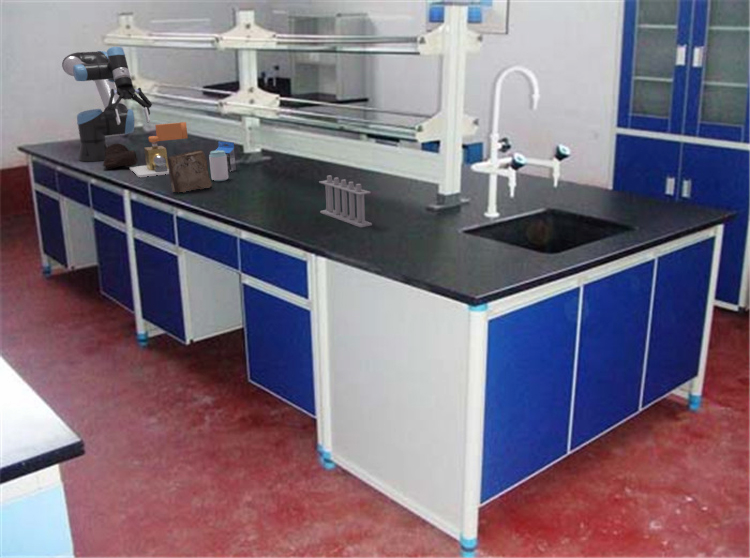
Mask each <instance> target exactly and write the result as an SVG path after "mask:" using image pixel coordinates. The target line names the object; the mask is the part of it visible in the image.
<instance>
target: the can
mask: <svg viewBox="0 0 750 558" xmlns="http://www.w3.org/2000/svg"><path fill="white" fill-rule="evenodd" d="M208 158H209V169H210V170H209V171H210V178H211V179H210V180H212V181H213V180H214V181H213V182H225V181H227V180H228V179H229V171H228V167H227V156H226V154H225V152H224V151H223V150H216V149H215V150H211V151H210V152H209V155H208Z"/></svg>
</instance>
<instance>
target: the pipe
mask: <svg viewBox="0 0 750 558" xmlns="http://www.w3.org/2000/svg"><path fill="white" fill-rule="evenodd" d="M137 164H138V157H137V154H136V152H135V151H134V150H129V149H128V147H127V146H126V145H123V144H122V143H114V144H110V145H108V147H107V148H106V150H105V160H103V164H102V166H103V167H104V168H107V169H117V168H118V167H134V166H136V165H137Z"/></svg>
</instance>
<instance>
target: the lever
mask: <svg viewBox="0 0 750 558" xmlns="http://www.w3.org/2000/svg"><path fill="white" fill-rule="evenodd" d="M155 134H156V135H152V136H151V135H150V136H148V142H149V143H152V142H157V143H158V142H162V141H163V142H165V141H173V140H182V139H183V140H186V139H188V137H189V136H188V127H187V122H186V121H182V122H171V123H162V124H161V123H159V124H155Z"/></svg>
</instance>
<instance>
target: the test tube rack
mask: <svg viewBox="0 0 750 558" xmlns="http://www.w3.org/2000/svg"><path fill="white" fill-rule="evenodd" d="M318 183H319V184H322V185H324V186H325V187H324V188H325V201H326V202H325V206H326V207H325V209H323V210H320V211H319V213H320V214H321V215H322V214H323V215H325V216H327V217H331V218H334V219H336V220H340V221H341V222H345V223H348V224H351V225H353V226H356V227H358V228H365V227H370V226H373V223H372V222H369V221H367V220H366V212H365V209H366V208H365V195H369V194H371V191H370V190H366V189H362V183H356V184H355V183H354V181H348V184H347V179H344V178H343V179H339V177H333V175H326V179H325V180H319V181H318ZM354 184H355V185H354ZM333 188H334V190H333ZM340 190H341V191H340ZM340 193H341V195H340ZM333 195H334V196H333ZM355 195H356V197H355ZM340 198H341V199H340ZM355 198H356V206H355ZM348 205H349V209H348ZM341 207H342V211H341ZM355 207H356V208H355ZM334 208H335V209H334ZM348 210H349V214H348ZM355 211H356V212H355Z"/></svg>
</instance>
